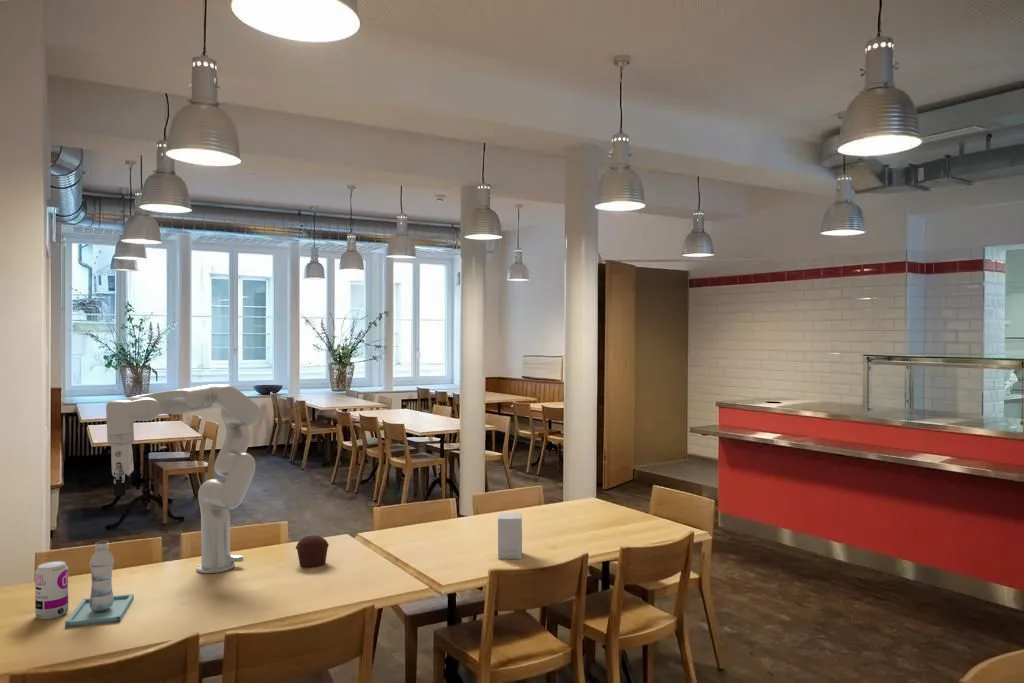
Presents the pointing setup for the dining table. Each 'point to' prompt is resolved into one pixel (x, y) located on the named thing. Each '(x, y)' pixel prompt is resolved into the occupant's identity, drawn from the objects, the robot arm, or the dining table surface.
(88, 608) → the tray
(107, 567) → the plastic bottle
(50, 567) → the supplement can
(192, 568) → the dining table surface
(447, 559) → the dining table surface
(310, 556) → the muffin
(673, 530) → the dining table surface
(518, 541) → the supplement box
